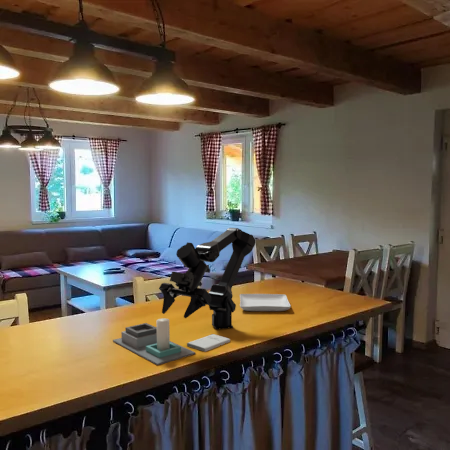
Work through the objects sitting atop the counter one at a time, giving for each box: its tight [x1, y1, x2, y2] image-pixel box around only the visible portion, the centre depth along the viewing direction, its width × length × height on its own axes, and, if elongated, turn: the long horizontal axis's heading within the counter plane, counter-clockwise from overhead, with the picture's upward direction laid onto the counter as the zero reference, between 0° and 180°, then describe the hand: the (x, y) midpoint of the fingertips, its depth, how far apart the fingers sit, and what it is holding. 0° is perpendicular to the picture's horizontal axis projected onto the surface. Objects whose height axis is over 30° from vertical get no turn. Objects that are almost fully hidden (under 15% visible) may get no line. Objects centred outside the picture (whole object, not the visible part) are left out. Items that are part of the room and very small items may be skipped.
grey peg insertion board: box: [112, 322, 196, 366], centre depth 153 cm, size 28×14×5 cm, turn 41°
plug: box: [155, 317, 171, 351], centre depth 148 cm, size 4×4×10 cm
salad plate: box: [239, 293, 292, 312], centre depth 204 cm, size 21×21×3 cm
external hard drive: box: [186, 333, 231, 352], centre depth 156 cm, size 2×8×12 cm
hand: (173, 315), depth 151 cm, fingers open, 9 cm apart
